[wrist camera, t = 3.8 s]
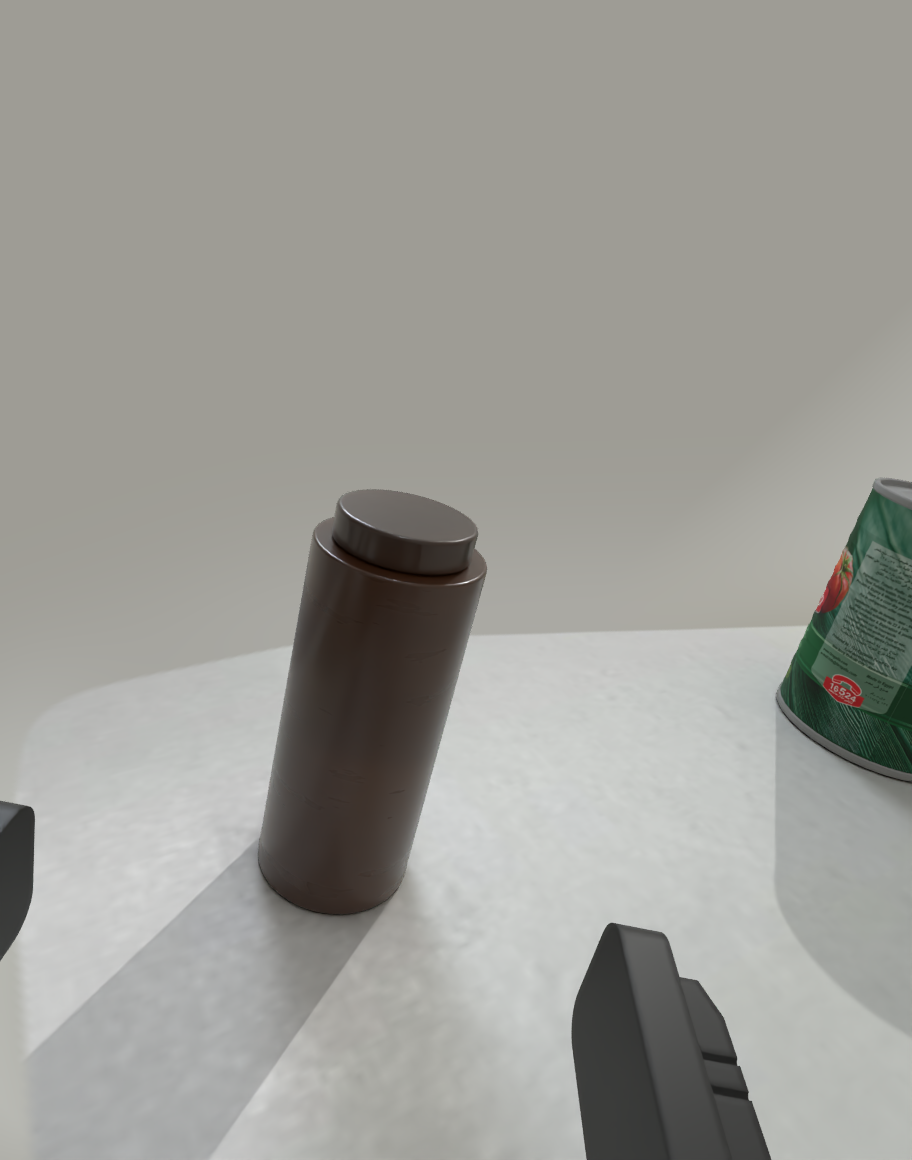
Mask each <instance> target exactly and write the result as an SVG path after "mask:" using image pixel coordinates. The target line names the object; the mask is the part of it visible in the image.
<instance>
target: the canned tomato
mask: <svg viewBox="0 0 912 1160" xmlns="http://www.w3.org/2000/svg"><path fill="white" fill-rule="evenodd" d="M776 694H777V701H778V703H779V705H780V707H781V709H782V711H783V712H784V713H785V715H786V716H787V717H788V718H789V720H791V721H792V722H793V723H794V724H795V725H796V726H797V727H798V728H799V729H800V730H801V731H803V732H804V733H805V734H806V735H808V736H809V737H810V738H812V739H813V740H814V741H816V742H818V743H819V744H821V745H822V746H824V747H825V748H827V749H828V750H830V751H832V752H834V753H836V754H837V755H839V756H841V757H843V758H845V759H847V760H849V761H851V762H853V763H855V764H857V765H860V766H862V767H864V768H866V769H869V770H872V771H874V772H877V773H880V774H882V775H886V776H889V777H893V778H896V779H900V780H904V781H910V782H912V482H909V481H903V480H899V479H892V478H878V479H875V481H874V484H873V489H872V491H871V493H870V495H869V497H868V500H867V502H866V504H865V506H864V508H863V510H862V512H861V513H860V515H859V517H858V519H857V523H856V525H855V527H854V529H853V531H852V533H851V534H850V537H849V540H848V543H847V545H846V547H845V548H844V550H843V552H842V555H841V558H840V560H839V562H838V564H837V565H836V566H835V569H834V573H833V575H832V577H831V579H830V580H829V582H828V584H827V587H826V590H825V592H824V594H823V595H822V597H821V599H820V602H819V605H818V607H817V609H816V610H815V612H814V614H813V617H812V620H811V622H810V624H809V625H808V627H807V629H806V632H805V635H804V637H803V639H802V640H801V642H800V644H799V647H798V650H797V652H796V653H795V655H794V657H793V659H792V662H791V665H790V667H789V669H788V672H787V674H786V676H785V678H784V680H783V682H782V683H781V684H780V685H779V688H778V690H777V693H776Z"/></svg>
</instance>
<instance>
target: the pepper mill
mask: <svg viewBox="0 0 912 1160" xmlns="http://www.w3.org/2000/svg"><path fill="white" fill-rule="evenodd" d="M477 537H478V531H477V527H476V525H475V523H474V522H473V521H472V520H471V519H469V518H468V517H467V516H465V515H464V514H462V513H461V512H459V511H457V510H455V509H454V508H451V507H449V506H447V505H445V504H442V503H440V502H437V501H434V500H431V499H428V498H425V497H421V496H417V495H413V494H408V493H403V492H398V491H389V490H357V491H352V492H349V493H346V494H344V495H342V496H341V497H340V499H339V500H338V502H337V506H336V511H335V517H332V518H329V519H326V520H324V521H322V522H321V523H319V524H318V525H317V526H316V528H315V529H314V532H313V535H312V541H311V547H310V553H309V559H308V564H307V570H306V576H305V582H304V587H303V593H302V599H301V605H300V611H299V616H298V622H297V628H296V633H295V639H294V645H293V651H292V656H291V662H290V668H289V674H288V680H287V685H286V691H285V697H284V703H283V708H282V714H281V720H280V726H279V732H278V737H277V743H276V749H275V755H274V760H273V766H272V772H271V778H270V783H269V789H268V795H267V801H266V807H265V812H264V818H263V824H262V830H261V835H260V841H259V848H258V860H259V864H260V868H261V870H262V872H263V875H264V877H265V878H266V880H267V881H268V883H269V884H270V885H271V886H272V887H273V889H274V890H275V891H277V892H278V893H279V894H280V895H281V896H282V897H284V898H285V899H287V900H288V901H290V902H292V903H294V904H296V905H298V906H300V907H303V908H305V909H308V910H312V911H315V912H320V913H326V914H350V913H356V912H361V911H364V910H368V909H370V908H372V907H375V906H377V905H379V904H380V903H382V902H384V901H385V900H386V899H387V898H389V897H390V896H391V895H392V894H393V893H394V892H395V891H396V889H397V888H398V887H399V885H400V883H401V881H402V879H403V877H404V873H405V870H406V866H407V862H408V859H409V855H410V851H411V848H412V844H413V840H414V837H415V833H416V829H417V826H418V822H419V818H420V815H421V811H422V807H423V804H424V800H425V796H426V793H427V789H428V785H429V782H430V778H431V774H432V771H433V767H434V763H435V760H436V756H437V752H438V749H439V745H440V741H441V738H442V734H443V730H444V727H445V723H446V719H447V716H448V712H449V708H450V705H451V701H452V697H453V694H454V690H455V686H456V683H457V679H458V675H459V672H460V668H461V664H462V661H463V657H464V653H465V650H466V646H467V642H468V639H469V635H470V631H471V628H472V624H473V620H474V617H475V613H476V609H477V606H478V602H479V598H480V594H481V591H482V587H483V584H484V580H485V576H486V572H487V566H486V562H485V560H484V558H483V557H482V555H481V554H480V553H479V552H478V551H477V550H476V549H474V548H475V544H476V541H477Z"/></svg>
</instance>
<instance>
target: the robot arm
mask: <svg viewBox="0 0 912 1160" xmlns="http://www.w3.org/2000/svg"><path fill="white" fill-rule="evenodd" d="M34 829H35V815H34V811H33V809H32V808H31V807H29V806H24V805H19V804H14V803H9V802H3V801H0V960H1V959H2V958H3V956H4V955H5V953H6V952H7V950H8V949H9V947H10V946H11V944H12V943H13V941H14V940H15V938H16V937H17V935H18V933H19V931H20V929H21V927H22V925H23V923H24V920H25V918H26V915H27V912H28V909H29V906H30V903H31V898H32V893H33V866H34ZM572 1049H573V1057H574V1064H575V1072H576V1080H577V1088H578V1095H579V1103H580V1111H581V1119H582V1127H583V1134H584V1142H585V1150H586V1158H587V1160H771V1157H770V1154H769V1151H768V1148H767V1145H766V1142H765V1139H764V1136H763V1133H762V1130H761V1127H760V1124H759V1122H758V1119H757V1116H756V1113H755V1110H754V1107H753V1104H752V1101H749V1099H748V1093H749V1092H748V1089H747V1086H746V1083H745V1080H744V1077H743V1074H742V1071H741V1068H740V1066H737V1056H736V1053H735V1050H734V1047H733V1044H732V1041H731V1038H730V1035H729V1032H728V1029H727V1026H726V1023H725V1020H724V1018H723V1016H722V1015H721V1013H720V1012H719V1010H718V1009H717V1007H716V1006H715V1005H714V1003H713V1002H712V1000H711V999H710V997H709V996H708V995H707V993H706V992H705V990H704V989H703V987H702V986H701V984H700V983H699V982H698V981H697V980H692V979H686V978H681V977H679V974H678V971H677V967H676V964H675V961H674V957H673V954H672V950H671V947H670V944H669V941H668V939H667V937H666V936H665V935H664V934H663V933H662V932H657V931H652V930H646V929H641V928H636V927H631V926H626V925H621V924H616V923H610V924H608V925H607V927H606V928H605V930H604V932H603V934H602V936H601V939H600V941H599V944H598V946H597V948H596V951H595V953H594V956H593V958H592V960H591V963H590V965H589V968H588V970H587V972H586V975H585V977H584V980H583V982H582V984H581V987H580V989H579V992H578V994H577V997H576V1001H575V1005H574V1010H573V1017H572Z"/></svg>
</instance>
